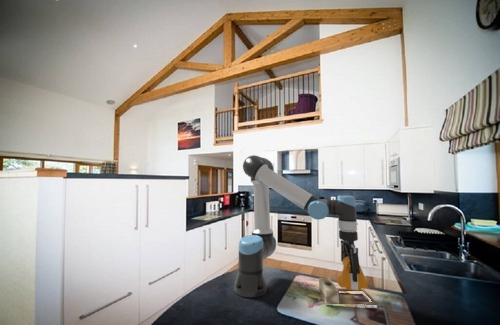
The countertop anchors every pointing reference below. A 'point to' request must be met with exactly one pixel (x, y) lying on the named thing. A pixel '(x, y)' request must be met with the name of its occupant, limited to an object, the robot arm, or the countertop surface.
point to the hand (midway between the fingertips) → (350, 284)
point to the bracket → (345, 277)
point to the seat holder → (337, 293)
